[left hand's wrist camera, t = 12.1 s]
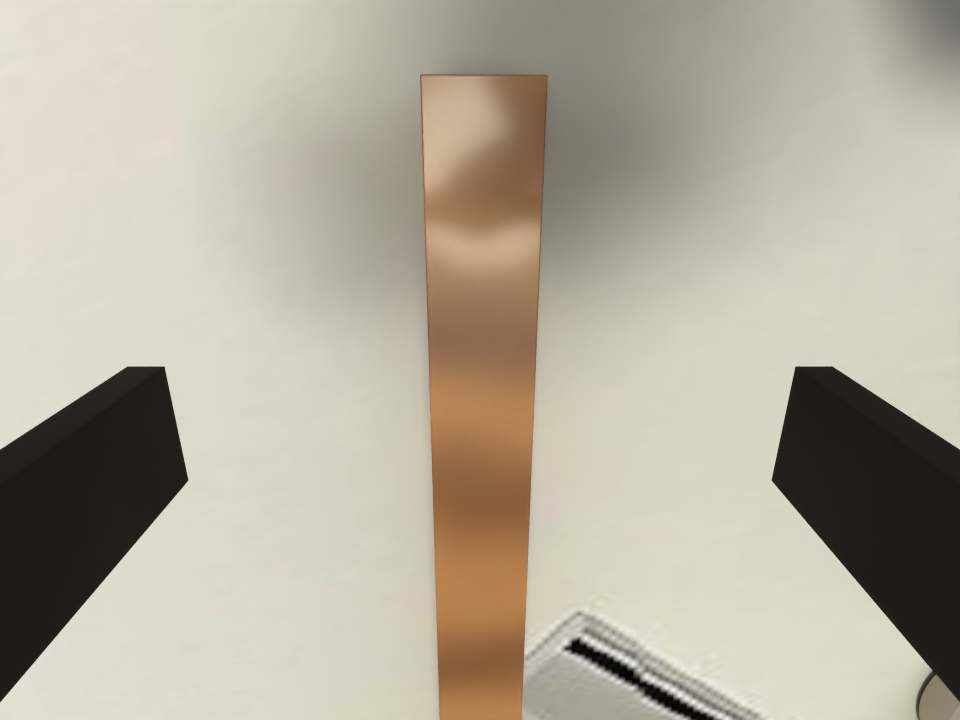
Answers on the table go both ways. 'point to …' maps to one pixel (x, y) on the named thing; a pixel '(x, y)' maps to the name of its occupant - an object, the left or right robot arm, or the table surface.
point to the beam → (482, 373)
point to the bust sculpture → (938, 702)
